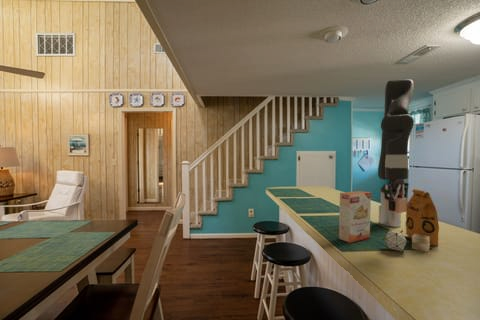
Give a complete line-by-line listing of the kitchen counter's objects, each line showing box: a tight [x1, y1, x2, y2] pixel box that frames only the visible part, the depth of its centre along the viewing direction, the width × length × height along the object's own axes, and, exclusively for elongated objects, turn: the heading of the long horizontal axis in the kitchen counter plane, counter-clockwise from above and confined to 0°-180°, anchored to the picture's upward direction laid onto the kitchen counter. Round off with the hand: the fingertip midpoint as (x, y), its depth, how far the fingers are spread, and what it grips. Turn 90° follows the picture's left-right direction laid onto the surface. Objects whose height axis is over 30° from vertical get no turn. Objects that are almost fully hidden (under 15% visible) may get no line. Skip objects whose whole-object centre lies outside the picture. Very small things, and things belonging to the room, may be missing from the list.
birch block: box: [411, 234, 431, 253], centre depth 95 cm, size 5×5×5 cm
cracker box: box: [338, 190, 372, 244], centre depth 106 cm, size 14×6×21 cm, turn 118°
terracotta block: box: [386, 197, 408, 214], centre depth 93 cm, size 5×5×5 cm
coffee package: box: [404, 188, 440, 247], centre depth 104 cm, size 10×12×22 cm
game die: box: [382, 228, 410, 254], centre depth 93 cm, size 9×8×10 cm
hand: (395, 209), depth 93 cm, fingers closed on terracotta block, 5 cm apart
